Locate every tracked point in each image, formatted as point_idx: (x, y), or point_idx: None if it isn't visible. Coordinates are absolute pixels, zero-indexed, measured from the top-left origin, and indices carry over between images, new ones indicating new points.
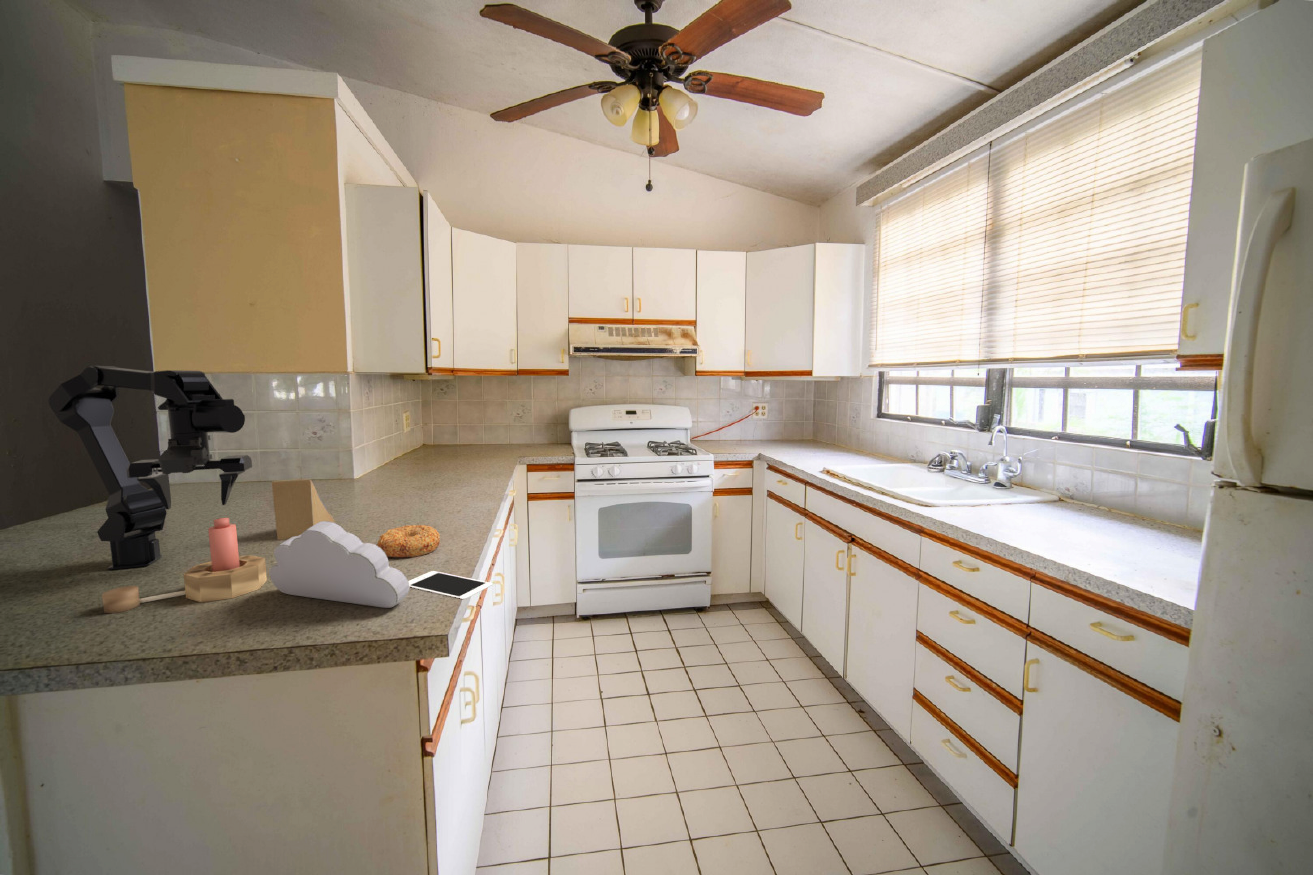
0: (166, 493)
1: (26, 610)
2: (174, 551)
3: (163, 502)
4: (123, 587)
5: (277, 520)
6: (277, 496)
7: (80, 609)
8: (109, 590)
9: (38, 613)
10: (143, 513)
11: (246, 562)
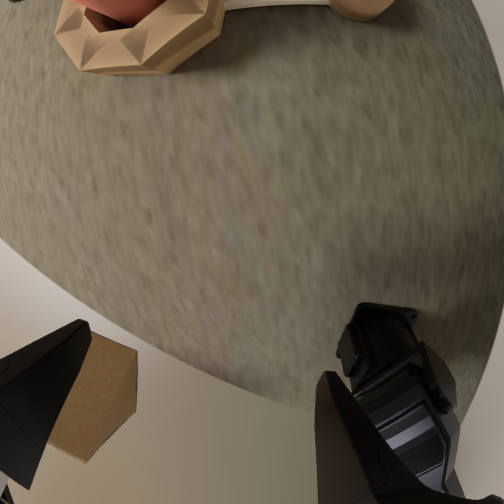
0: (335, 454)
1: (498, 121)
2: (315, 377)
3: (348, 398)
4: (367, 3)
5: (117, 382)
6: (91, 426)
7: (428, 46)
8: (391, 2)
9: (481, 83)
10: (391, 412)
11: (87, 18)
